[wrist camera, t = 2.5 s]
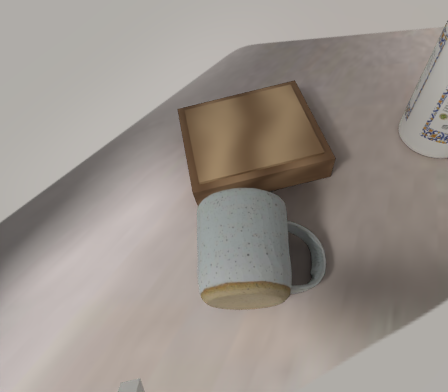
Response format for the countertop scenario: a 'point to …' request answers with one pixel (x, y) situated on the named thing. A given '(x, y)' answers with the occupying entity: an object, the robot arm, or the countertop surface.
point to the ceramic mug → (249, 250)
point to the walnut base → (254, 142)
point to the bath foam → (429, 106)
